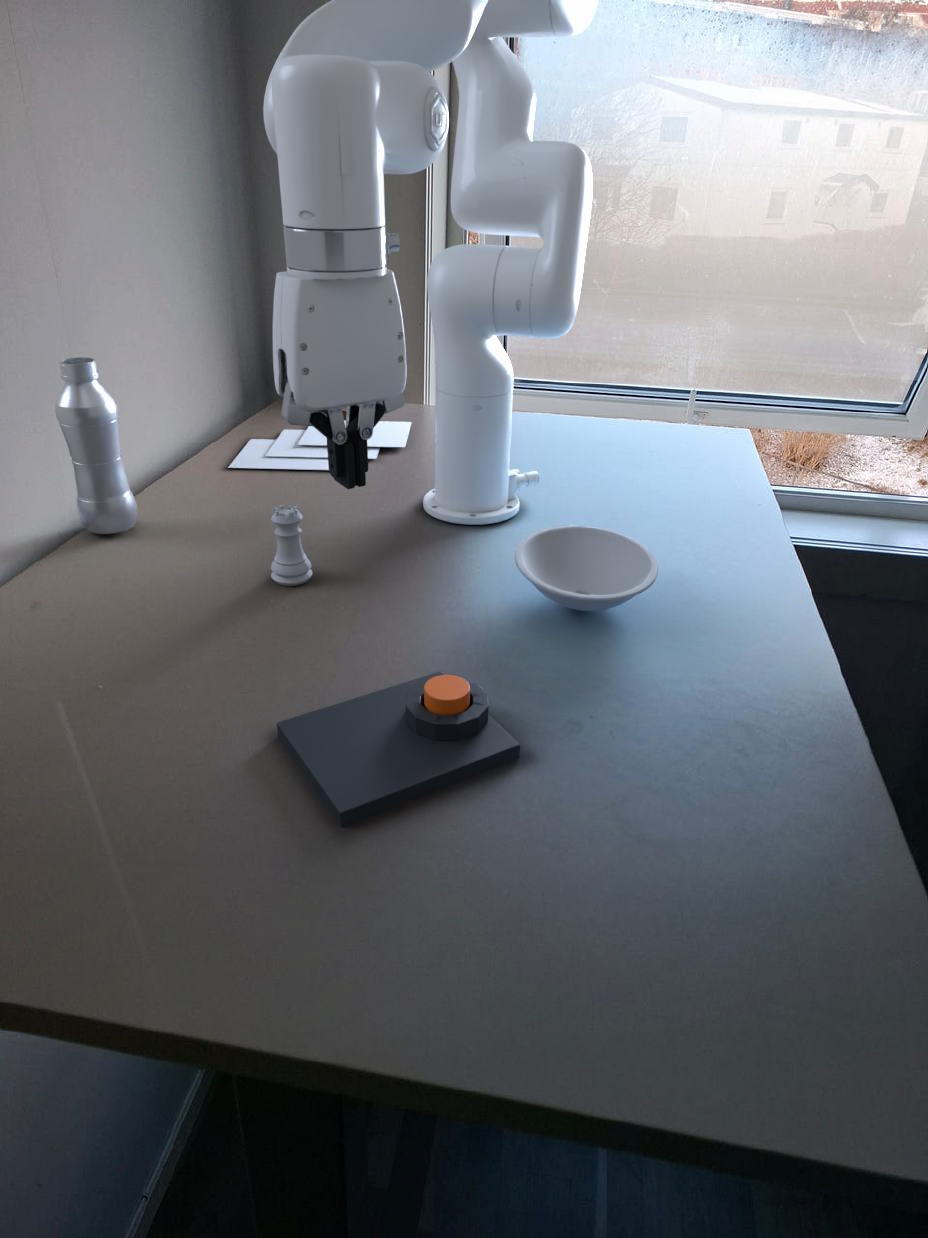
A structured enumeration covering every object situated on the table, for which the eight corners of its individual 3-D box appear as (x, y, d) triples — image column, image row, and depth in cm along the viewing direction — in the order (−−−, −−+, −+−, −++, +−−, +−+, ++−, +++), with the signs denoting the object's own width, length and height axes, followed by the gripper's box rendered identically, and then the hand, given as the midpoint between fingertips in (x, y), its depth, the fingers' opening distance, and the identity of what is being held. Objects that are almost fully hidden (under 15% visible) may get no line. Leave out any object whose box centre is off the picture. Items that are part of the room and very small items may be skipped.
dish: (666, 647, 80) (673, 600, 77) (515, 643, 80) (517, 596, 78) (637, 567, 95) (642, 526, 93) (510, 563, 95) (512, 522, 93)
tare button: (454, 686, 69) (454, 670, 68) (478, 708, 66) (478, 691, 65) (416, 698, 67) (415, 682, 66) (438, 721, 64) (438, 705, 64)
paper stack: (400, 471, 121) (400, 467, 121) (228, 467, 121) (227, 463, 121) (411, 425, 142) (411, 421, 141) (263, 422, 142) (263, 418, 141)
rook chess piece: (320, 572, 92) (315, 504, 88) (300, 590, 89) (294, 519, 85) (284, 566, 94) (278, 498, 90) (263, 583, 90) (255, 513, 86)
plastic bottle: (122, 543, 98) (88, 369, 88) (70, 537, 99) (30, 365, 90) (151, 522, 104) (121, 356, 94) (101, 517, 105) (67, 352, 95)
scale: (443, 683, 74) (443, 654, 72) (522, 757, 65) (524, 726, 63) (277, 736, 67) (274, 705, 65) (341, 828, 58) (338, 795, 56)
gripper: (398, 242, 70) (403, 455, 79) (222, 252, 62) (250, 485, 72) (446, 252, 64) (445, 480, 73) (260, 264, 57) (285, 515, 66)
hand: (349, 482), depth 72 cm, fingers closed
